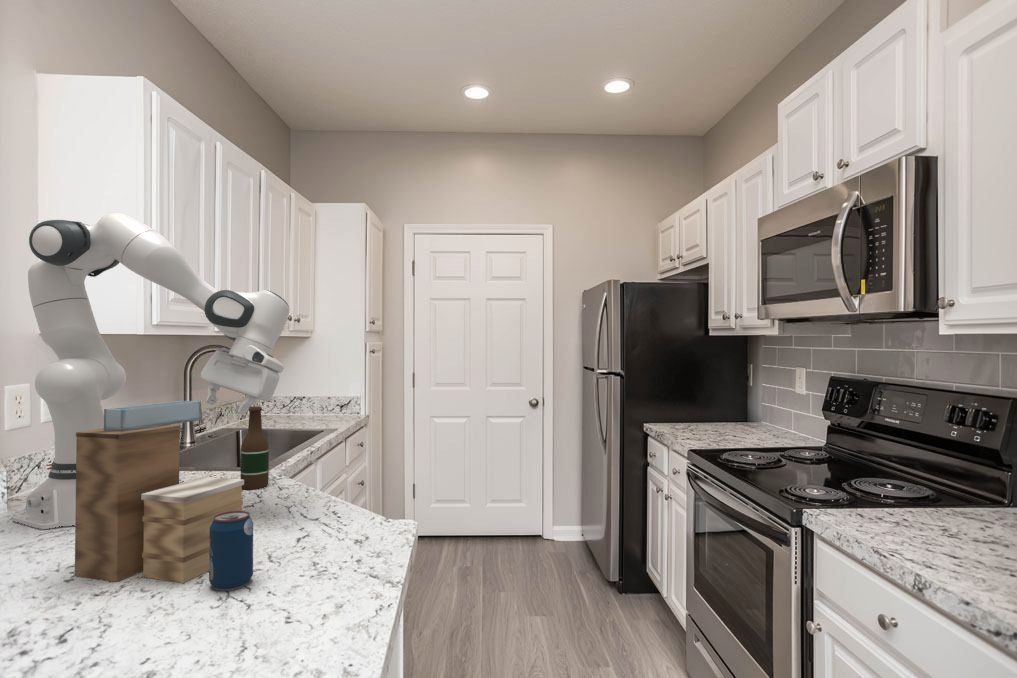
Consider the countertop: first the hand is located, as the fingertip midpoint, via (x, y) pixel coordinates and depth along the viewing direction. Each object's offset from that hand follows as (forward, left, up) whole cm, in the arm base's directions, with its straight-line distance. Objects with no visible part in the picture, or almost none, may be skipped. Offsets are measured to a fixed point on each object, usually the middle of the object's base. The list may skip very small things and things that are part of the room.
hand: (224, 408), depth 135 cm
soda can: (+27, -28, -27) cm, 47 cm away
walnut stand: (+2, -26, -27) cm, 38 cm away
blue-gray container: (+2, -21, -1) cm, 21 cm away
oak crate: (+14, -23, -27) cm, 38 cm away
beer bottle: (-19, +32, -27) cm, 46 cm away
